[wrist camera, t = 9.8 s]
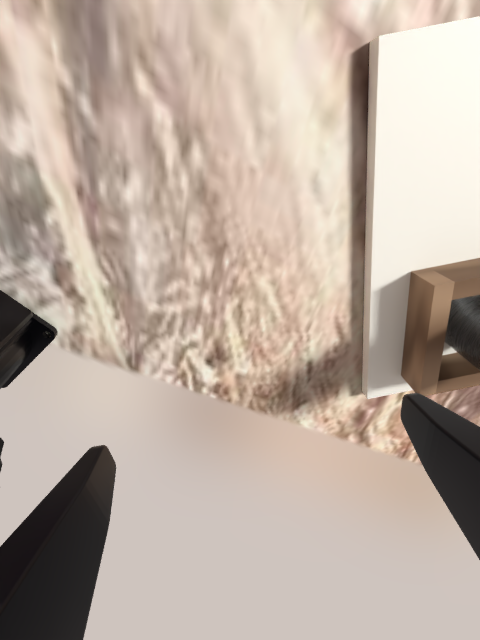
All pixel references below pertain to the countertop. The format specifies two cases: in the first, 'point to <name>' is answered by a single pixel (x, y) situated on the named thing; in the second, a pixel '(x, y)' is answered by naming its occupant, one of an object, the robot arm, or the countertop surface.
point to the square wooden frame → (437, 328)
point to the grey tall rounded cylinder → (465, 328)
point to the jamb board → (417, 178)
